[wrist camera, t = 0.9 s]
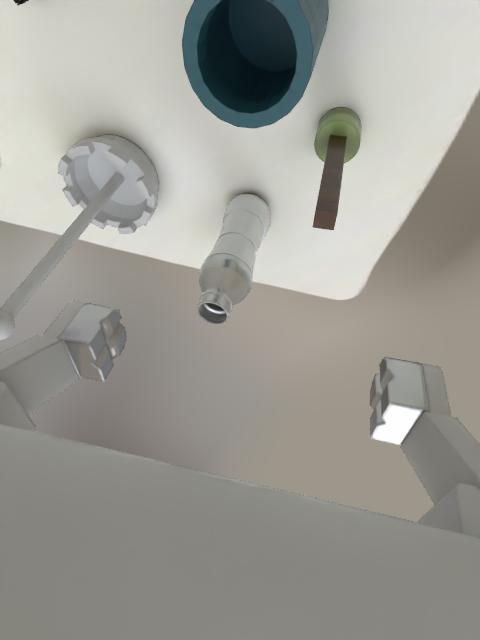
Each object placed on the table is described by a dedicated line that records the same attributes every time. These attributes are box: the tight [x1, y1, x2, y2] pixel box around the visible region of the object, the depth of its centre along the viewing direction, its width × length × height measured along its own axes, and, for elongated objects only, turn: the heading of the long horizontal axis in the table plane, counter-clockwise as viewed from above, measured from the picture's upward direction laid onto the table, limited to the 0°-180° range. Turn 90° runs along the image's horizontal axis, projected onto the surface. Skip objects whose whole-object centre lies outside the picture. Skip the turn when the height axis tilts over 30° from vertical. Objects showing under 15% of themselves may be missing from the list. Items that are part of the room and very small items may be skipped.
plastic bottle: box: [197, 194, 270, 324], centre depth 48 cm, size 6×7×20 cm
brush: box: [313, 107, 361, 230], centre depth 38 cm, size 5×5×18 cm
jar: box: [182, 0, 328, 128], centre depth 33 cm, size 10×10×13 cm
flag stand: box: [0, 135, 159, 340], centre depth 45 cm, size 13×13×30 cm
